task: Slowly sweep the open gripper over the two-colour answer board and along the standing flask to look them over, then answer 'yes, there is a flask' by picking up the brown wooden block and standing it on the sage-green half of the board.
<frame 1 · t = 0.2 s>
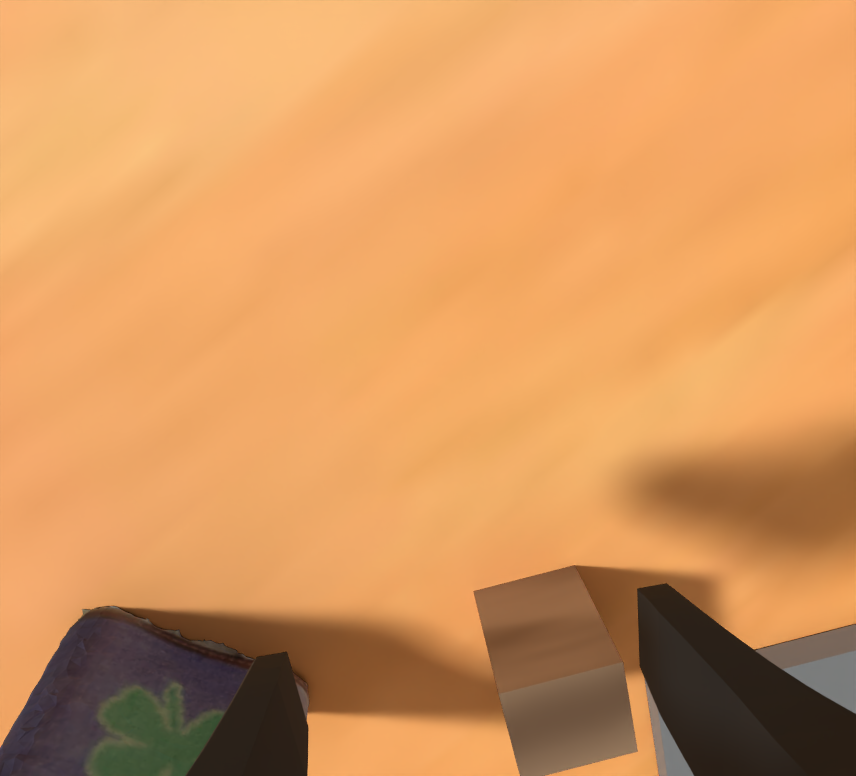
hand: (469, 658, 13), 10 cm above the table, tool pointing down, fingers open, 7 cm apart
brown wooden block: (532, 617, 26), on the table
flask: (195, 659, 25), on the table
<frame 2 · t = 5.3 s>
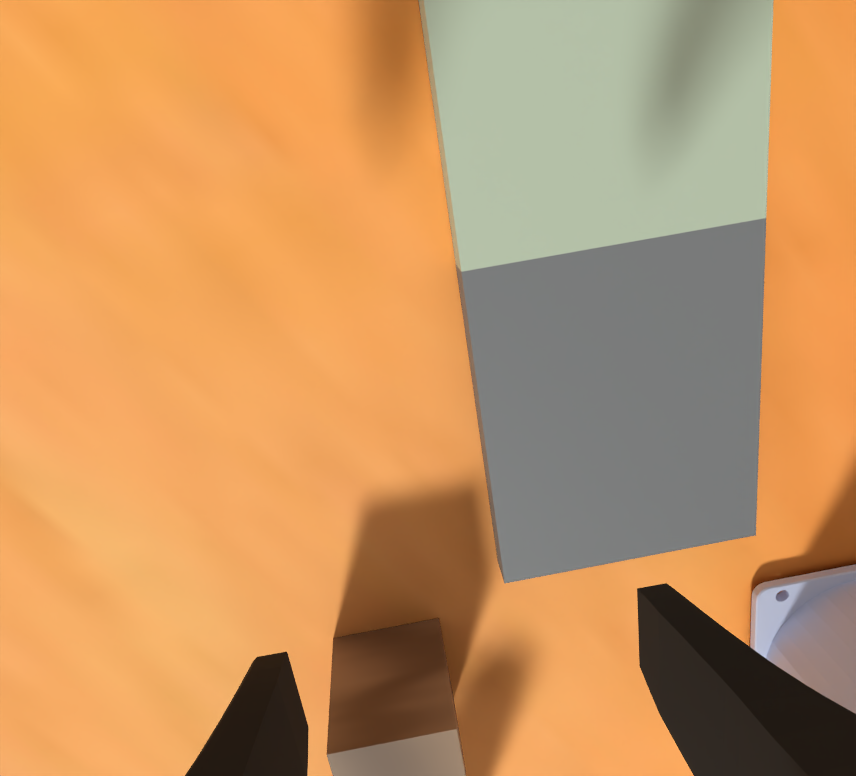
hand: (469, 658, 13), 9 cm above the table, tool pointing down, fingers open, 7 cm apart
brown wooden block: (395, 668, 25), on the table
answer board: (600, 238, 20), on the table
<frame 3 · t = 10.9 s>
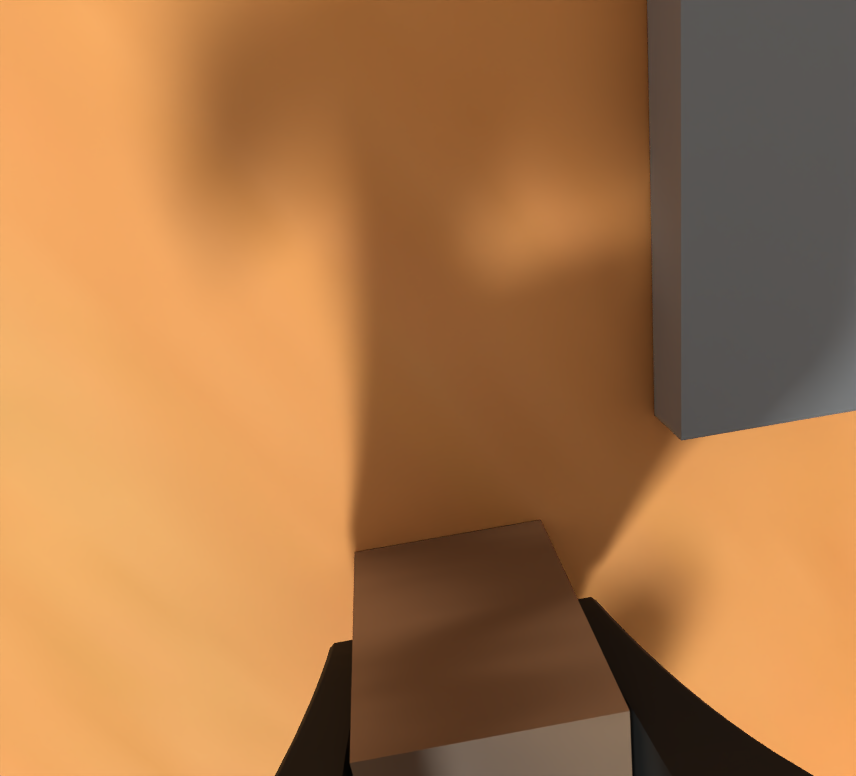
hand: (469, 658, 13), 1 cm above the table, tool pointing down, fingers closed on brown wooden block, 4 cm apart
brown wooden block: (459, 611, 15), on the table, touching gripper
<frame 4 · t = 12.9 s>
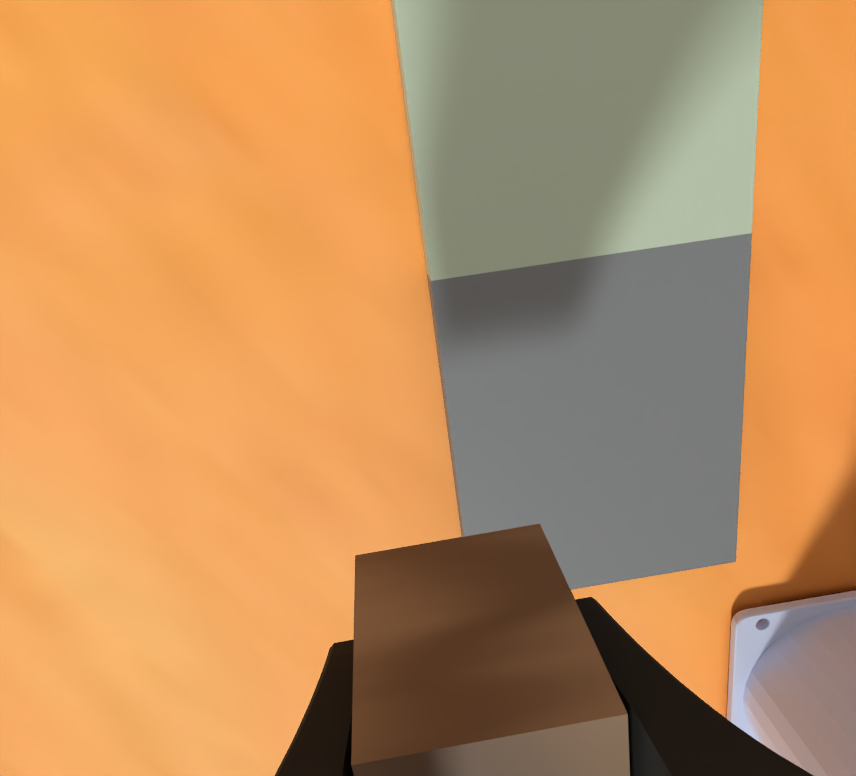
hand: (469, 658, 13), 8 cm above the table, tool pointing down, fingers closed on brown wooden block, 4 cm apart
brown wooden block: (459, 613, 15), point 7 cm above the table, touching gripper
answer board: (579, 250, 19), on the table
when the fingers open (4 cm above the table, at t = 15.4 s): brown wooden block drops 1 cm, resting on answer board.
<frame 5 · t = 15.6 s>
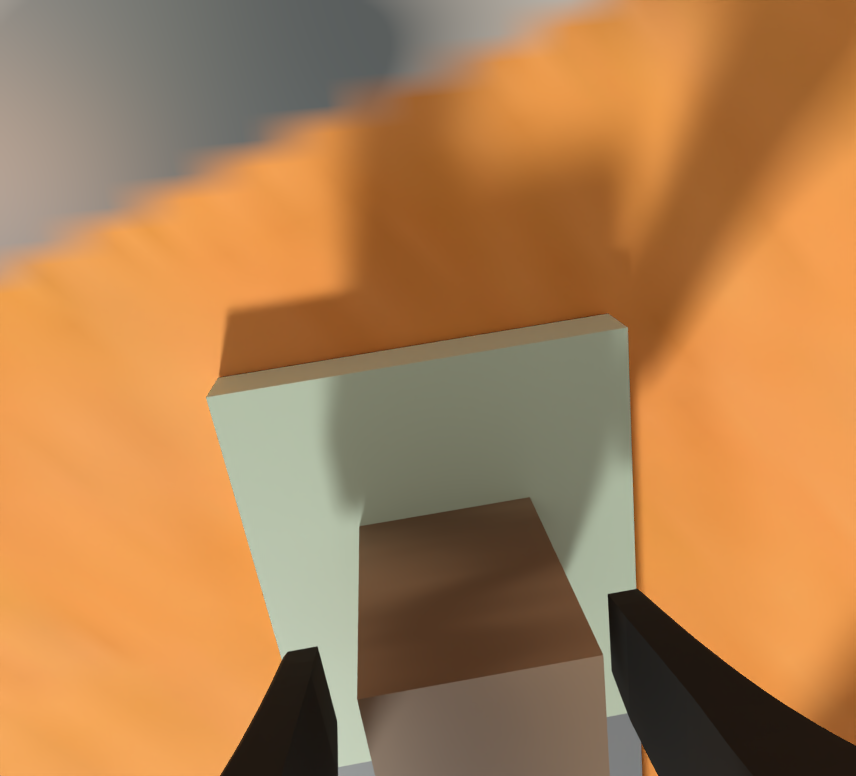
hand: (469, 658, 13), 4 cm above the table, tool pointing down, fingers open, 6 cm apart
brown wooden block: (455, 582, 16), point 1 cm above the table, touching answer board
answer board: (471, 705, 19), on the table
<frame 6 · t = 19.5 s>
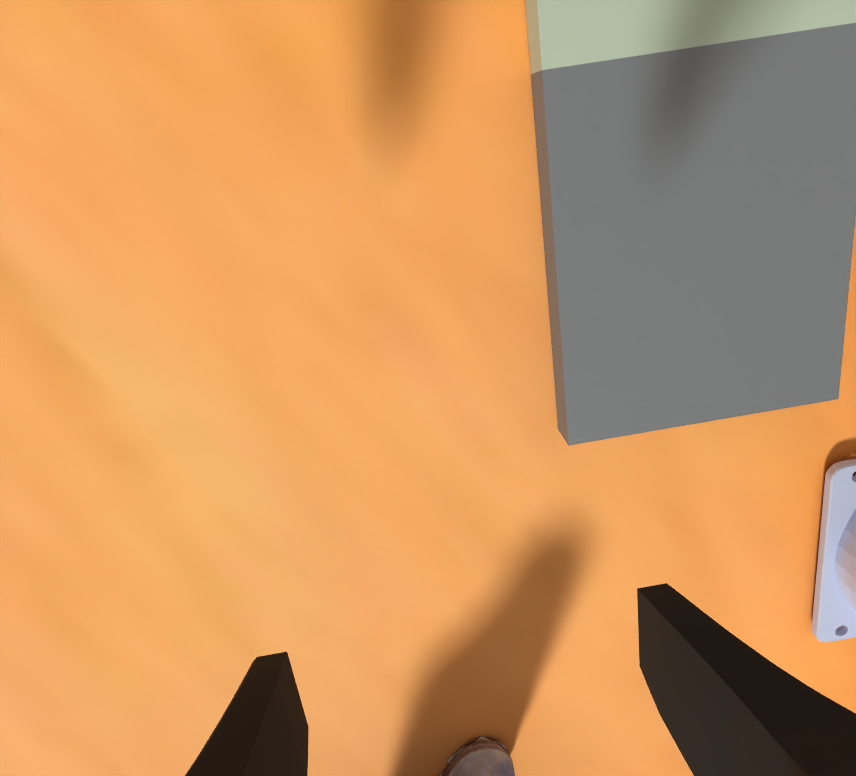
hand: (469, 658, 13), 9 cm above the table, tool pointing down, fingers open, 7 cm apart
answer board: (688, 50, 18), on the table
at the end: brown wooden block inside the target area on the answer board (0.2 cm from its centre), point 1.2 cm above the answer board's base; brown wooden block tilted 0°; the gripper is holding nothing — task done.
